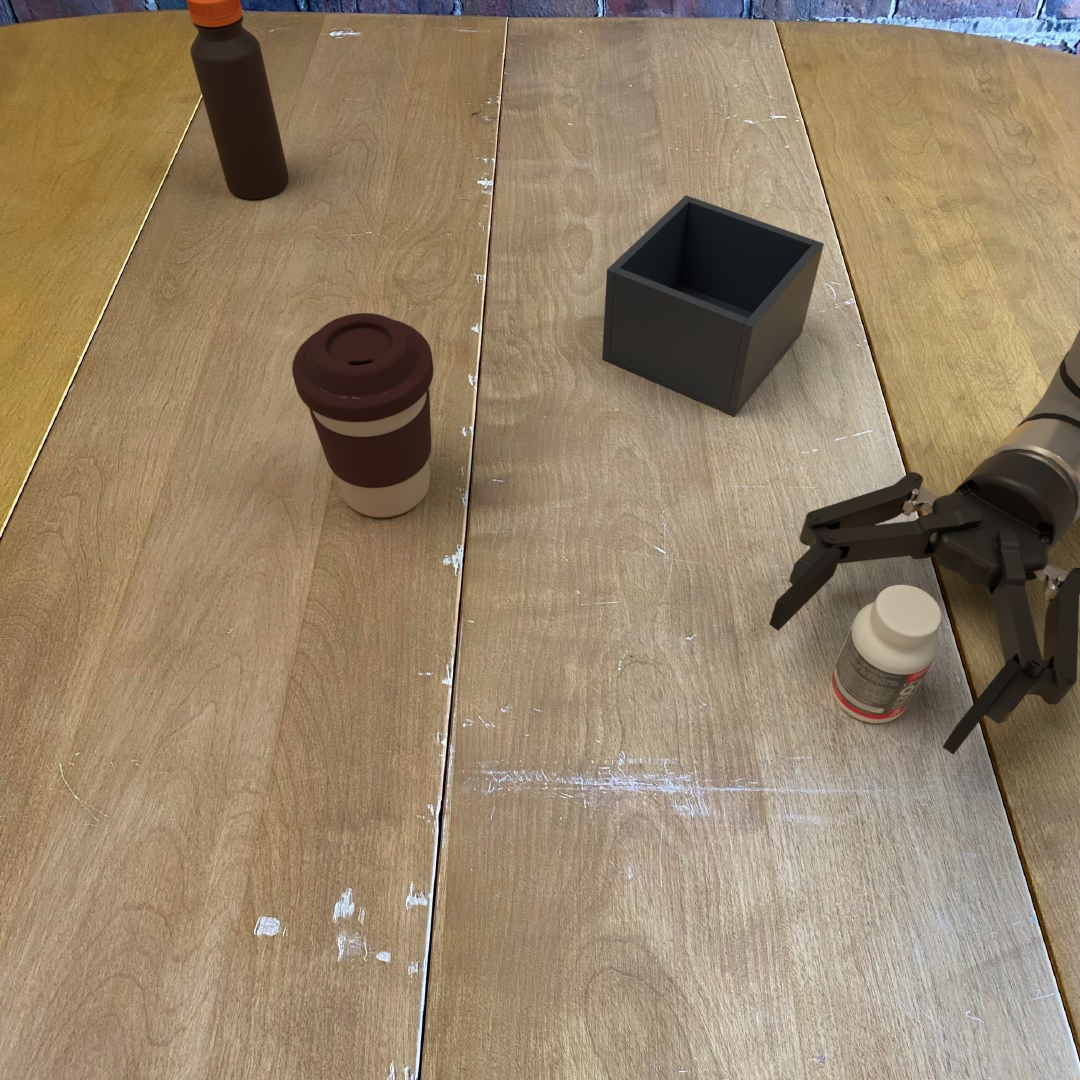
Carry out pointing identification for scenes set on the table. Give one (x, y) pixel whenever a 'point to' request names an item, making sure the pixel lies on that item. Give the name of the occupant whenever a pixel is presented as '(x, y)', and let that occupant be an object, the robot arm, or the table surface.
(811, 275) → the waste bin
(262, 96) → the brown water bottle
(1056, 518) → the robot arm
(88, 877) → the table surface
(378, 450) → the coffee cup
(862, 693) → the pill bottle
